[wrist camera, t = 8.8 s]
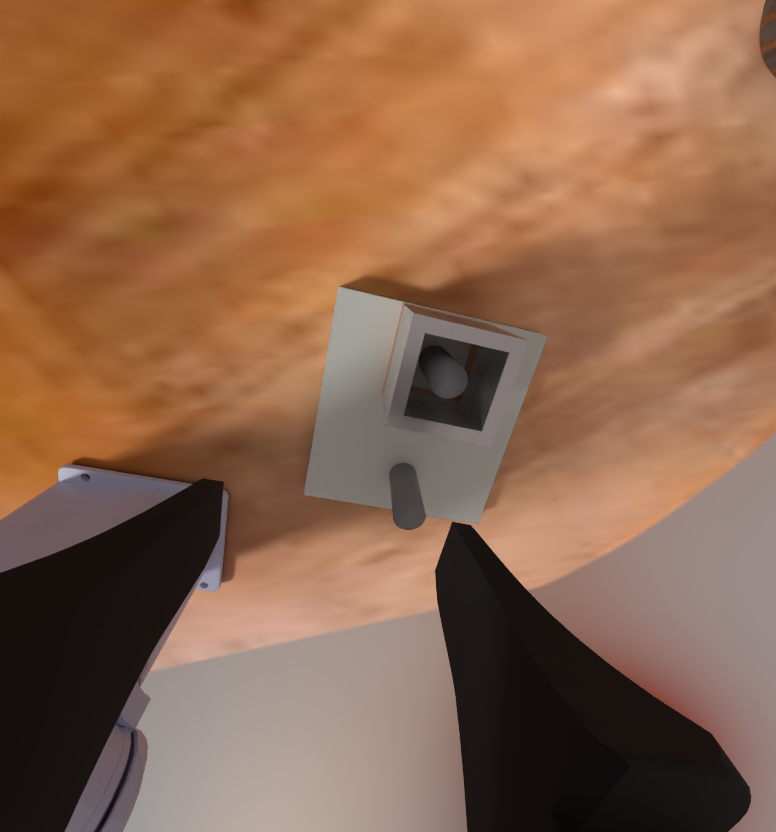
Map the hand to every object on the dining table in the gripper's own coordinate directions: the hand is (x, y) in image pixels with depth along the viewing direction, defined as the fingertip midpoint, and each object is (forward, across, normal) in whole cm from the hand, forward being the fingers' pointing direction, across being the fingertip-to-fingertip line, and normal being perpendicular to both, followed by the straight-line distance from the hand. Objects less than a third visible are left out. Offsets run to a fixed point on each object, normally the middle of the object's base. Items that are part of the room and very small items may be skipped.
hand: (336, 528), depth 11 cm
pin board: (+10, -3, 0) cm, 11 cm away
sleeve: (+10, -4, -4) cm, 11 cm away
